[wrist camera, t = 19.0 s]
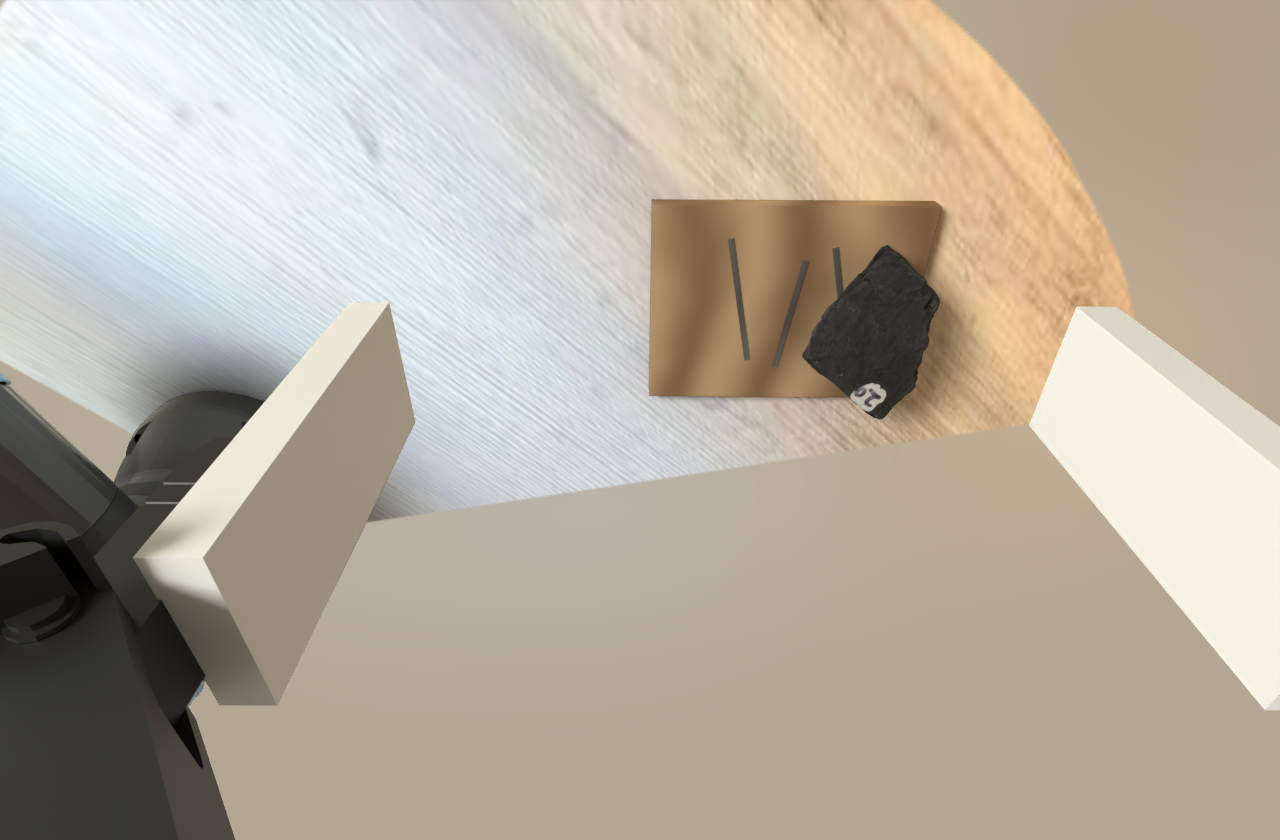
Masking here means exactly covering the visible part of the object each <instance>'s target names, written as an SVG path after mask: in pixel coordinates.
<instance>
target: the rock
mask: <svg viewBox="0 0 1280 840" xmlns="http://www.w3.org/2000/svg"><path fill="white" fill-rule="evenodd" d="M939 303H940V299H939V297H938V296H937V294H936V293H935V292H934V290H933V289H932V288H931V287H930V286H928V285H927V282H926V280H925V279H924V277H923V276H921V275H920V274H919V273H918V272H917V271H916V270H915V269H914V268H913V267H912V266H911V264H910V263H909V262H908V261H907V260H906V259H905V258H904V257H903V256H902V255H901V254H899V253H897V252H896V251H895V250H893V249H892V248H891V247H890V246H889V245H885V246H882V247H881V248H880V249H879V251H878V252H877V253H876V254H875V256H874V257H873V259H872V260H871V261H870V263H869V264H868V266H867V267H866V268H865V269H864V270H863V272H862V273H861V274H858V275H857V276H856V278H855V279H854V280H853V281H852V282H851V283H850V284H849V285H848V286H847V287H846V288H845V290H844V292H843V293H842V294H841V295H840V296H839V297H838V298H837V300H836V301H835V302H833V303H832V304H831V305H830V306H829V307H828V308H827V309H826V311H825V312H824V314H823V315H822V316H821V318H820V319H819V321H818V323H817V325H816V327H815V328H814V330H813V331H812V333H811V335H810V341H809V344H808V345H807V347H806V350H805V351H804V352H803V354H802V357H803V359H804V360H805V361H806V362H807V363H808V364H809V365H810V366H811V367H812V368H813V369H814V370H816V371H817V372H818V373H819V374H820V375H823V376H824V377H825V378H827V379H828V380H829V381H831V382H832V383H833V384H835V385H836V386H837V387H838V388H839V389H840V390H841V391H842V392H843V393H844V394H845V395H847V396H848V397H849V398H850V399H851V400H852V401H853V402H854V403H855V404H856V405H858V406H859V407H861V408H862V409H863V410H864V411H865V412H866V413H867V414H869V415H871V416H872V417H873V418H877V419H883V418H884V417H885V416H886V415H887V414H888V413H889V411H890V410H891V409H892V407H894V406H895V405H896V404H897V403H898V402H899V401H900V400H901V399H902V398H903V397H904V396H905V395H907V394H908V393H910V392H911V391H912V390H913V389H914V388H915V383H916V380H917V373H918V371H917V369H918V367H919V366H920V364H921V361H922V356H923V352H924V351H925V349H926V348H927V346H928V344H929V337H928V332H929V327H930V323H931V320H932V318H933V316H934V313H935V312H936V311H937V309H938V307H939Z"/></svg>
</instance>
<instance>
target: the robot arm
mask: <svg viewBox="0 0 1280 840" xmlns="http://www.w3.org/2000/svg"><path fill="white" fill-rule="evenodd" d="M10 383H11V381H10V380H9V379H8V378H7V377H6V376H4V375H2V374H0V840H235V838H234V835H233V832H232V829H231V825H230V823H229V820H228V816H227V813H226V810H225V807H224V804H223V801H222V798H221V795H220V792H219V789H218V785H217V782H216V779H215V776H214V773H213V770H212V767H211V764H210V761H209V758H208V755H207V752H206V749H205V746H204V743H203V740H202V736H201V733H200V730H199V727H198V724H197V721H196V719H195V717H194V715H193V714H192V712H191V711H190V709H189V708H188V706H189V705H190V704H191V702H192V701H193V700H194V698H195V697H197V696H198V695H199V694H200V692H201V691H202V689H203V687H204V681H206V683H207V685H208V686H209V688H210V690H211V691H212V693H213V695H214V697H215V698H216V700H217V702H218V703H219V705H278V703H279V701H280V699H281V697H282V695H283V693H284V691H285V689H286V687H287V685H288V683H289V681H290V678H291V676H292V674H293V672H294V670H295V668H296V666H297V664H298V662H299V660H300V658H301V656H302V654H303V652H304V650H305V648H306V646H307V644H308V641H309V639H310V637H311V635H312V633H313V631H314V629H315V627H316V625H317V623H318V621H319V619H320V617H321V615H322V613H323V611H324V608H325V607H326V604H327V602H328V600H329V598H330V596H331V594H332V592H333V590H334V588H335V586H336V584H337V582H338V580H339V578H340V576H341V574H342V572H343V569H344V568H345V565H346V563H347V561H348V559H349V557H350V555H351V553H352V551H353V549H354V547H355V545H356V543H357V541H358V539H359V537H360V535H361V533H362V530H363V528H364V526H365V524H366V522H367V520H368V518H369V516H370V514H371V512H372V510H373V508H374V506H375V504H376V502H377V500H378V498H379V496H380V494H381V491H382V489H383V487H384V485H385V483H386V481H387V479H388V477H389V475H390V473H391V471H392V469H393V467H394V465H395V463H396V461H397V459H398V457H399V454H400V452H401V450H402V448H403V446H404V444H405V442H406V440H407V438H408V436H409V434H410V432H411V430H412V428H413V426H414V424H415V418H414V414H413V409H412V405H411V400H410V396H409V391H408V387H407V382H406V377H405V373H404V368H403V364H402V359H401V355H400V350H399V346H398V341H397V337H396V332H395V328H394V323H393V319H392V314H391V310H390V305H389V303H348V304H347V305H346V307H345V308H344V309H343V310H342V311H341V312H340V314H339V315H338V316H337V317H336V318H335V319H334V321H333V322H332V323H331V324H330V325H329V327H328V328H327V329H326V330H325V331H324V332H323V334H322V335H321V336H320V337H319V338H318V340H317V341H316V342H315V343H314V344H313V345H312V347H311V348H310V349H309V350H308V351H307V353H306V354H305V355H304V356H303V357H302V358H301V360H300V361H299V362H298V363H297V364H296V366H295V367H294V368H293V369H292V370H291V371H290V373H289V374H288V375H287V376H286V377H285V378H284V380H283V381H282V382H281V383H280V384H279V386H278V387H277V388H276V389H275V390H274V391H273V393H272V394H271V395H270V396H269V397H268V399H267V400H266V401H265V402H261V401H258V400H256V399H253V398H250V397H246V396H242V395H238V394H233V393H226V392H213V391H208V392H195V393H189V394H185V395H181V396H178V397H176V398H173V399H171V400H169V401H167V402H166V403H164V404H163V405H161V406H160V407H159V408H158V409H157V410H155V411H154V412H153V413H152V414H151V415H150V416H149V417H148V418H147V419H146V420H145V421H144V422H143V423H142V424H141V425H140V426H139V427H138V429H137V430H136V431H135V433H134V434H133V436H132V438H131V440H130V443H129V445H128V448H127V451H126V457H125V458H124V460H123V462H122V464H121V466H120V468H119V470H118V473H117V475H116V478H115V480H114V482H113V481H111V480H110V479H109V478H108V477H107V476H106V475H105V474H104V473H103V472H102V471H101V470H100V469H98V467H96V466H95V465H94V464H93V463H92V462H91V461H90V460H89V459H88V458H87V457H86V456H85V455H83V454H82V453H81V452H80V451H79V450H78V449H77V448H76V447H75V446H74V445H73V444H72V443H71V442H70V441H69V440H67V439H66V438H65V437H64V436H63V435H62V434H61V433H60V432H59V431H58V430H57V429H56V428H55V427H54V426H53V425H51V424H50V423H49V422H48V421H47V420H46V419H45V418H44V417H43V416H42V415H40V413H38V411H36V410H35V409H34V408H33V407H32V406H31V405H30V404H29V403H28V402H27V401H26V400H25V399H24V398H22V397H21V396H20V395H19V394H18V393H17V392H16V391H15V390H14V389H13V388H12V387H11V386H10V385H9V384H10ZM1029 426H1030V427H1031V428H1032V429H1033V431H1034V432H1035V433H1036V434H1037V436H1038V437H1039V438H1040V439H1041V440H1042V442H1043V443H1044V444H1045V445H1046V446H1047V448H1048V449H1049V450H1050V451H1051V452H1052V454H1053V455H1054V456H1055V457H1056V458H1057V460H1058V461H1059V462H1060V463H1061V464H1062V466H1063V467H1064V468H1065V469H1066V471H1067V472H1068V473H1069V474H1070V475H1071V477H1072V478H1073V479H1074V480H1075V481H1076V483H1077V484H1078V485H1079V486H1080V487H1081V489H1082V490H1083V491H1084V492H1085V493H1086V495H1087V496H1088V497H1089V498H1090V500H1091V501H1092V502H1093V503H1094V504H1095V505H1096V507H1097V508H1098V509H1099V510H1100V512H1101V513H1102V514H1103V515H1104V516H1105V518H1106V519H1107V520H1108V521H1109V522H1110V524H1111V525H1112V526H1113V527H1114V528H1115V530H1116V531H1117V532H1118V533H1119V535H1121V537H1122V538H1123V539H1124V541H1125V542H1126V543H1127V544H1128V545H1129V546H1130V548H1131V549H1132V550H1133V551H1134V552H1135V554H1136V555H1137V556H1138V557H1139V559H1140V560H1141V561H1142V562H1143V563H1144V565H1145V566H1146V567H1147V568H1148V569H1149V571H1150V572H1151V573H1152V574H1153V576H1154V577H1155V578H1156V579H1157V580H1158V582H1159V583H1160V584H1161V585H1162V586H1163V588H1164V589H1165V590H1166V591H1167V592H1168V594H1169V595H1170V596H1171V597H1172V598H1173V599H1174V601H1175V602H1176V603H1177V605H1178V606H1179V607H1180V608H1181V609H1182V611H1183V612H1184V613H1185V614H1186V615H1187V616H1188V618H1189V619H1190V620H1191V621H1192V622H1193V624H1194V625H1195V626H1196V627H1197V629H1198V630H1199V631H1200V632H1201V633H1202V634H1203V636H1204V637H1205V638H1206V639H1207V641H1208V642H1209V643H1210V644H1211V646H1212V647H1213V648H1214V649H1215V650H1216V652H1217V653H1218V654H1219V655H1220V656H1221V657H1222V659H1223V660H1224V661H1225V662H1226V664H1227V665H1228V666H1229V667H1230V668H1231V670H1232V671H1233V672H1234V673H1235V675H1236V676H1237V677H1238V678H1239V679H1240V681H1241V682H1242V683H1243V684H1244V685H1245V687H1246V688H1247V689H1248V690H1249V691H1250V692H1251V694H1252V695H1253V696H1254V697H1255V699H1256V700H1257V701H1258V702H1259V703H1260V705H1261V706H1262V707H1263V708H1264V710H1280V427H1279V426H1278V425H1276V424H1275V423H1274V422H1272V421H1271V420H1270V419H1268V418H1267V417H1265V416H1264V415H1263V414H1261V413H1260V412H1259V411H1257V410H1256V409H1255V408H1253V407H1252V406H1251V405H1249V404H1248V403H1247V402H1245V401H1244V400H1242V399H1241V398H1240V397H1238V396H1237V395H1235V394H1234V393H1233V392H1232V391H1230V390H1229V389H1227V388H1226V387H1225V386H1223V385H1222V384H1221V383H1219V382H1218V381H1216V380H1215V379H1214V378H1213V377H1211V376H1210V375H1208V374H1207V373H1206V372H1204V371H1203V370H1202V369H1200V368H1199V367H1198V366H1196V365H1195V364H1193V363H1192V362H1191V361H1189V360H1188V359H1187V358H1185V357H1184V356H1183V355H1181V354H1180V353H1179V352H1177V351H1176V350H1174V349H1173V348H1172V347H1170V346H1169V345H1168V344H1166V343H1165V342H1163V341H1162V340H1161V339H1159V338H1158V337H1157V336H1155V335H1154V334H1153V333H1151V332H1150V331H1149V330H1147V329H1146V328H1145V327H1143V326H1142V325H1140V324H1139V323H1138V322H1136V321H1135V320H1134V319H1132V318H1131V317H1130V316H1128V315H1127V314H1126V313H1124V312H1123V311H1121V310H1120V309H1119V308H1117V307H1076V310H1075V312H1074V315H1073V317H1072V320H1071V322H1070V325H1069V327H1068V330H1067V332H1066V335H1065V337H1064V340H1063V342H1062V345H1061V347H1060V350H1059V352H1058V355H1057V357H1056V359H1055V362H1054V364H1053V367H1052V369H1051V372H1050V374H1049V377H1048V379H1047V382H1046V384H1045V387H1044V389H1043V392H1042V394H1041V397H1040V399H1039V402H1038V404H1037V407H1036V409H1035V412H1034V414H1033V417H1032V419H1031V422H1030V424H1029Z"/></svg>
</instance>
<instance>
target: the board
mask: <svg viewBox="0 0 1280 840" xmlns="http://www.w3.org/2000/svg"><path fill="white" fill-rule="evenodd" d="M941 208H942V207H941V206H940V205H939V204H938V203H936V202H935V201H814V200H652V223H651V289H650V355H649V396H757V397H848V396H847V395H845V394H844V393H843V392H842V391H841V390H840V389H839V388H838V387H837V386H836V385H835V384H833V383H832V382H831V381H829V380H828V379H827V378H825V377H824V376H823V375H820V374H819V373H818V372H817V371H816V370H814V369H813V368H812V367H811V366H810V365H809V364H808V363H807V362H806V361H805V360H804V359H803V357H802V354H803V352H804V351H805V350H806V347H807V345H808V344H809V341H810V335H811V333H812V331H813V330H814V328H815V327H816V325H817V323H818V321H819V319H820V318H821V316H822V315H823V314H824V312H825V311H826V309H827V308H828V307H829V306H830V305H831V304H832V303H833V302H835V301H836V300H837V298H838V297H839V296H840V295H841V294H842V293H843V292H844V290H845V288H846V287H847V286H848V285H849V284H850V283H851V282H852V281H853V280H854V279H855V278H856V276H857V275H858V274H861V273H862V272H863V270H864V269H865V268H866V267H867V266H868V264H869V263H870V261H871V260H872V259H873V257H874V256H875V254H876V253H877V252H878V251H879V249H880V248H881V247H882V246H885V245H889V246H890V247H891V248H892V249H893V250H895V251H896V252H897V253H899V254H901V255H902V256H903V257H904V258H905V259H906V260H907V261H908V262H909V263H910V264H911V266H912V267H913V268H914V269H915V270H916V271H917V272H918V273H919V274H920V275H921V276H923V277H924V274H925V271H926V267H927V263H928V259H929V255H930V251H931V247H932V243H933V239H934V235H935V232H936V228H937V224H938V220H939V216H940V212H941Z"/></svg>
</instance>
